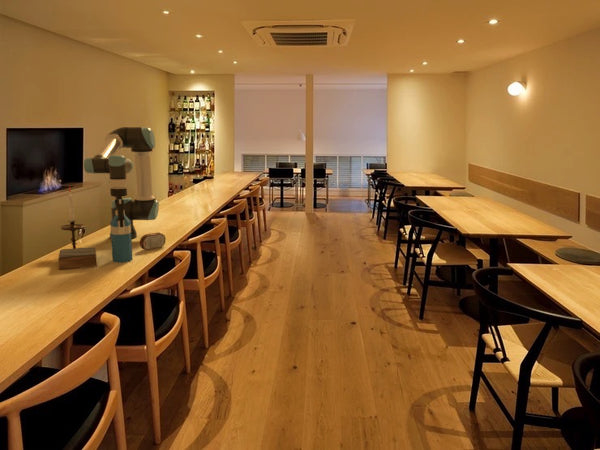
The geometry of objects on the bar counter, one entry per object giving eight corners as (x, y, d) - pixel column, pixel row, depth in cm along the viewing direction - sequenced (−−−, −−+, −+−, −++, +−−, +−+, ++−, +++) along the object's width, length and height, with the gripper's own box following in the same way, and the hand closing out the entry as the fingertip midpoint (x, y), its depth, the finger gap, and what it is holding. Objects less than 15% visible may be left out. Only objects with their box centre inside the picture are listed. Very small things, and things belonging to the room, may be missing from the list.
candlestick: (84, 255, 249) (79, 187, 242) (61, 256, 246) (55, 187, 239) (87, 250, 260) (82, 184, 253) (65, 251, 257) (59, 185, 250)
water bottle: (113, 263, 236) (110, 212, 231) (112, 258, 244) (109, 209, 239) (133, 261, 240) (130, 211, 235) (131, 257, 248) (129, 208, 243)
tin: (163, 245, 272) (162, 231, 271) (166, 246, 270) (166, 231, 269) (139, 250, 261) (138, 235, 259) (143, 251, 259) (142, 236, 257)
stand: (60, 261, 238) (59, 249, 237) (96, 258, 244) (95, 246, 243) (59, 270, 224) (58, 257, 223) (96, 266, 230) (96, 254, 229)
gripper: (109, 185, 244) (111, 226, 248) (111, 191, 222) (114, 236, 226) (124, 184, 247) (126, 225, 251) (128, 190, 225) (131, 235, 229)
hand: (120, 231), depth 239 cm, fingers open, 13 cm apart
